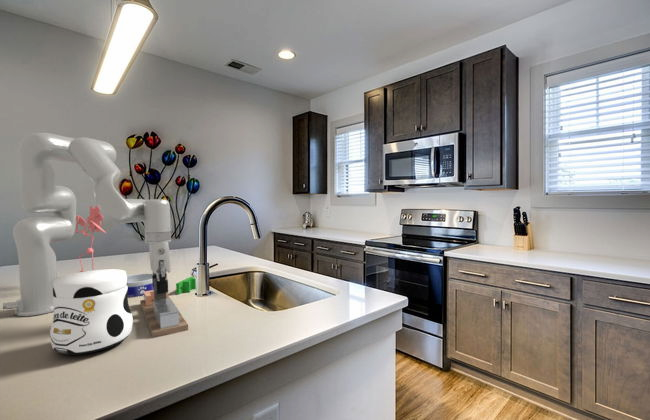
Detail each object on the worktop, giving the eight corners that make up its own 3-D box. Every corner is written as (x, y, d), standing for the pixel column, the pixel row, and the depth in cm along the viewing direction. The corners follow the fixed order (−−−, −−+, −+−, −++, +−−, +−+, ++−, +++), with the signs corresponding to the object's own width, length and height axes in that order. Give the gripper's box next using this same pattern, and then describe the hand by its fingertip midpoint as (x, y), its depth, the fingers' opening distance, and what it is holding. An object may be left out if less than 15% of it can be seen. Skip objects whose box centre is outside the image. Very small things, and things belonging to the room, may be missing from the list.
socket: (168, 301, 114) (167, 292, 114) (146, 305, 110) (145, 296, 110) (164, 296, 120) (164, 288, 120) (143, 300, 116) (143, 291, 116)
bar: (174, 323, 93) (173, 290, 93) (163, 325, 92) (162, 292, 91) (163, 304, 110) (163, 276, 109) (153, 306, 108) (152, 278, 108)
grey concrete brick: (179, 325, 92) (179, 310, 92) (160, 329, 90) (160, 314, 90) (170, 310, 104) (170, 297, 104) (153, 314, 102) (153, 300, 102)
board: (188, 329, 93) (188, 324, 93) (152, 337, 88) (152, 332, 88) (168, 299, 121) (168, 295, 120) (140, 304, 115) (140, 300, 115)
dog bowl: (127, 300, 121) (127, 284, 121) (107, 294, 129) (106, 279, 129) (166, 290, 134) (165, 275, 134) (145, 285, 142) (144, 271, 142)
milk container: (38, 368, 73) (34, 288, 72) (64, 337, 89) (61, 272, 88) (128, 352, 80) (125, 279, 79) (137, 326, 96) (134, 266, 95)
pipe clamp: (185, 295, 127) (185, 283, 127) (176, 295, 127) (176, 283, 127) (199, 287, 138) (199, 276, 138) (191, 286, 138) (191, 276, 138)
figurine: (92, 291, 133) (91, 205, 132) (65, 283, 147) (64, 205, 146) (131, 283, 146) (130, 205, 145) (103, 276, 160) (102, 205, 159)
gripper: (175, 238, 100) (177, 293, 101) (166, 234, 115) (168, 282, 115) (148, 241, 96) (150, 298, 97) (142, 236, 110) (144, 286, 111)
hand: (160, 289), depth 106 cm, fingers open, 9 cm apart
